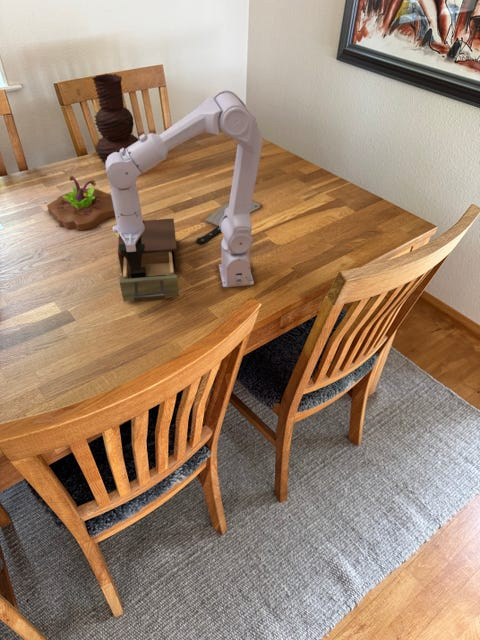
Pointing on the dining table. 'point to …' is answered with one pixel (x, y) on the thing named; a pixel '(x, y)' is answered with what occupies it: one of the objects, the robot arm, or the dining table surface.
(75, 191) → the plant
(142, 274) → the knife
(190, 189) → the dining table surface
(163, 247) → the cabinet
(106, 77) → the vase
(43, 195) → the dining table surface
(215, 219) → the cleaver
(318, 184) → the dining table surface
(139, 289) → the drawer
